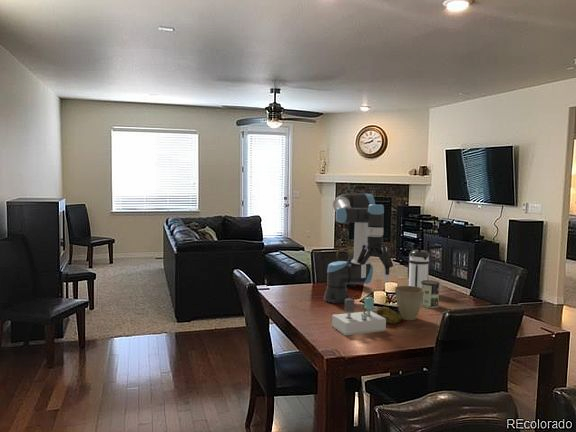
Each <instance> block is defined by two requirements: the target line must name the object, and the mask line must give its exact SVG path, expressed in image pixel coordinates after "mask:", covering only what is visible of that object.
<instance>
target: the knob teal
mask: <svg viewBox="0 0 576 432" xmlns="http://www.w3.org/2000/svg"><path fill="white" fill-rule="evenodd" d="M374 301H375V299H374V297H372V296H365V297H364V306H363V307H364V309H365V310H366V309H367V310H366V312H367V317H370V311H372V310H373V309H374Z"/></svg>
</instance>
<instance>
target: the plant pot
mask: <svg viewBox="0 0 576 432" xmlns="http://www.w3.org/2000/svg"><path fill="white" fill-rule="evenodd" d="M394 289H395V298H396V299H395V300H396V303H397V309H398V313H399V314H401V316H402V320H405V321H415V320H417V317H418V314H419V312H420V309H421V307H422V306H421V303H422V300H423V295H424V289H422V288H420V287H415V286H408V285H398V286H396V287H394Z"/></svg>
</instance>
